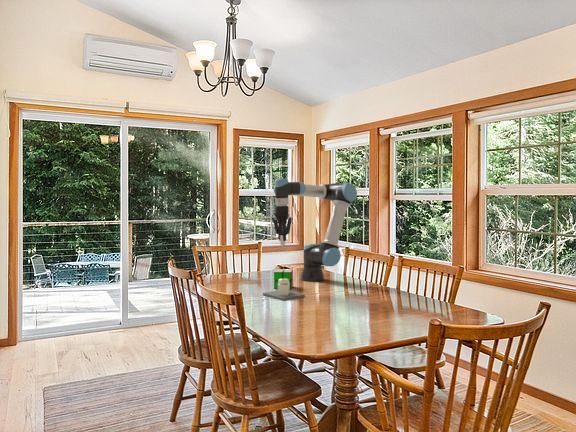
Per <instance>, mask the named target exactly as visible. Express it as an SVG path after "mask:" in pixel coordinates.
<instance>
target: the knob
mask: <svg viewBox="0 0 576 432" xmlns="http://www.w3.org/2000/svg"><path fill="white" fill-rule="evenodd" d="M285 284H286V285H285ZM289 284H290V282H289V279H278V289H277V291H278V295H289V291H290V289H289Z"/></svg>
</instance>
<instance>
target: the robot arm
mask: <svg viewBox="0 0 576 432" xmlns="http://www.w3.org/2000/svg"><path fill="white" fill-rule="evenodd" d="M272 189H273V193H274V196H275V202H274V204H275V216H273V217H271V221H272V222H273V226H274V231H275V234H276V235H278V240H279V241H280V247H281V248H283V247H286V242H287V235H289V234H290V231H291V225H292V221H293V220H294V219H293V217H290V213H289V209H290V208H289V207H290V206H289V196H295V197H310V198H311V197H312V198H318V199H320V200H327V201H332V203H333V206H332V209H331V213H330V218H329V221H328V224H327V230H326V233H325V237H324V239H323V241H321V243H311V244H310V243H309V244H308V243H307V244H304V246H303V267H302V272H301V275H300V280H301V281H306V282H322V281H324V280H325V275H324V272H323V267H322V266H325V267H334V266H336V265H337V264H339V262H340V260H341V251H340V246H339V240H340V236H341V232H342V229H343V226H344V221H345V218H346V213H347V209H348V208H349V207H351V204H352V202H354V201H355V200H356V199H357V196H358V192H357V191H358V190H357V188H356V186H355V185H354V184H353V183H350V182H339V183H338V182H337V183H336V182H335V183H326V184H323V183H322V184H321V183H320V184H318V185H315V184H305V183H304V182H303V181H290V182H289V180H288V178H276V179H275V180H274V184H273V188H272Z"/></svg>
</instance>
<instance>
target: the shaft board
mask: <svg viewBox="0 0 576 432" xmlns="http://www.w3.org/2000/svg"><path fill="white" fill-rule="evenodd" d="M285 285H286V284H285ZM262 296H265V297H268V298H272V299H275V300H279V301H289V300H296V299H301V298H305V297H306V294H304V293H301V292H295V291H292V290H289V295H278V290H273V291H266V292H262Z"/></svg>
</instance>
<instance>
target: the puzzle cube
mask: <svg viewBox="0 0 576 432" xmlns="http://www.w3.org/2000/svg"><path fill="white" fill-rule="evenodd" d="M278 279H289V282H290V284H289V290H291V289H293V286H294V270H293V269H280V268H279V269H275V271H274V272H273V280H274V281H273V289H274V290H278Z"/></svg>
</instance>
